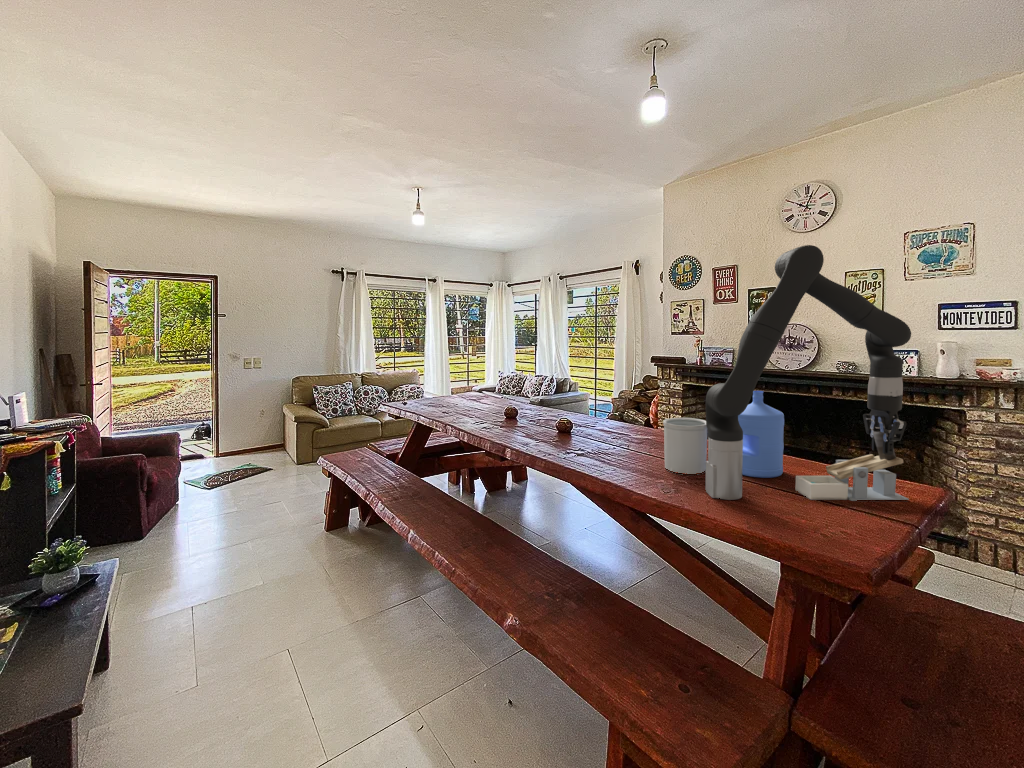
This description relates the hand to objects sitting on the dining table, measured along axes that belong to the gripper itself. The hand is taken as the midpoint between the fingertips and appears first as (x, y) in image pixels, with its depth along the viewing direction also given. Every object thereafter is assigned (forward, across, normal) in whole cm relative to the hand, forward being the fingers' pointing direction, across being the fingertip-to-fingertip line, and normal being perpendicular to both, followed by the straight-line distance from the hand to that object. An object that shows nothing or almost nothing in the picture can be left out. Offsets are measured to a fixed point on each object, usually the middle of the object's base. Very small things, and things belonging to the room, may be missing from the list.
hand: (882, 452), depth 126 cm
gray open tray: (+13, 0, -16) cm, 21 cm away
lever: (+5, 0, -5) cm, 7 cm away
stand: (+13, 0, -3) cm, 13 cm away
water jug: (+13, -23, -24) cm, 36 cm away
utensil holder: (+13, -26, -47) cm, 55 cm away
